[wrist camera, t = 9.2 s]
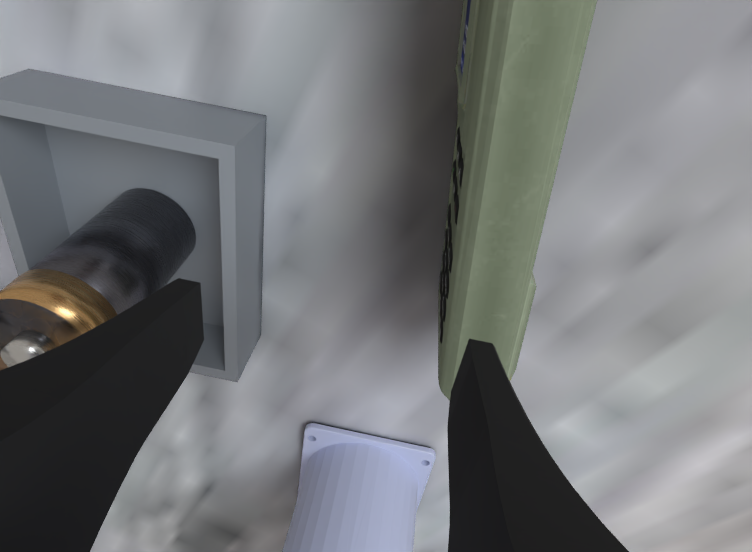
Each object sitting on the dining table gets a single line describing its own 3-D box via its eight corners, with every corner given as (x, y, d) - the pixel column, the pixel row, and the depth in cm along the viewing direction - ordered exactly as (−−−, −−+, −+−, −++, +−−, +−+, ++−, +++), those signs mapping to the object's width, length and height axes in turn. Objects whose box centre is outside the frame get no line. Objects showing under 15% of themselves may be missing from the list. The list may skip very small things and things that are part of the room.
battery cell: (196, 273, 25) (89, 416, 18) (115, 251, 25) (-25, 386, 18) (197, 201, 23) (75, 333, 16) (107, 176, 23) (-57, 298, 16)
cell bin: (261, 334, 28) (237, 382, 25) (82, 297, 28) (38, 339, 25) (266, 115, 21) (234, 145, 18) (28, 68, 21) (-40, 91, 18)
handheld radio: (429, 295, 25) (529, -660, 11) (497, 300, 25) (691, -667, 11) (426, 399, 20) (622, -1261, 5) (514, 407, 19) (963, -1299, 5)
